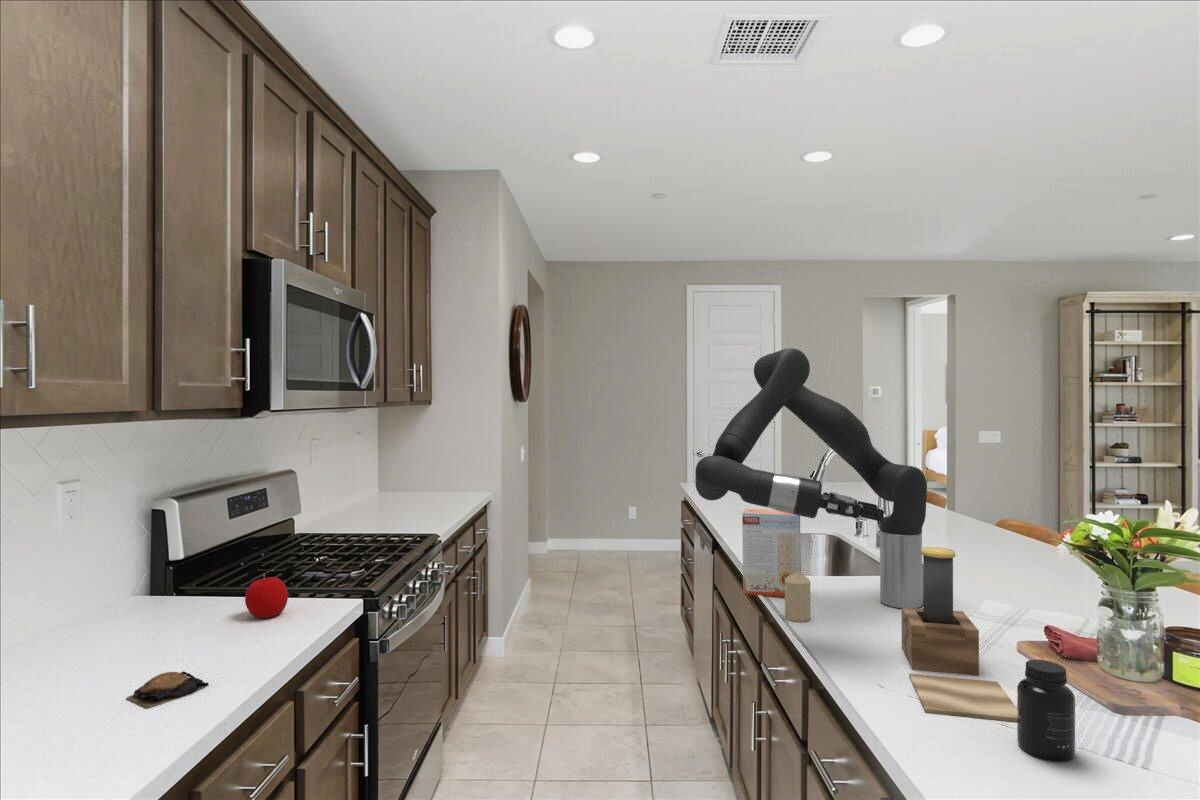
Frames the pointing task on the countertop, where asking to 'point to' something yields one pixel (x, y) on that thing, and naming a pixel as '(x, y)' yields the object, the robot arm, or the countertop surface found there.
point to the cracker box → (769, 551)
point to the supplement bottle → (1046, 712)
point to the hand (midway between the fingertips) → (879, 513)
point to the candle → (797, 598)
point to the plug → (937, 585)
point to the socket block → (940, 643)
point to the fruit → (266, 597)
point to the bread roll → (166, 689)
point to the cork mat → (963, 697)
